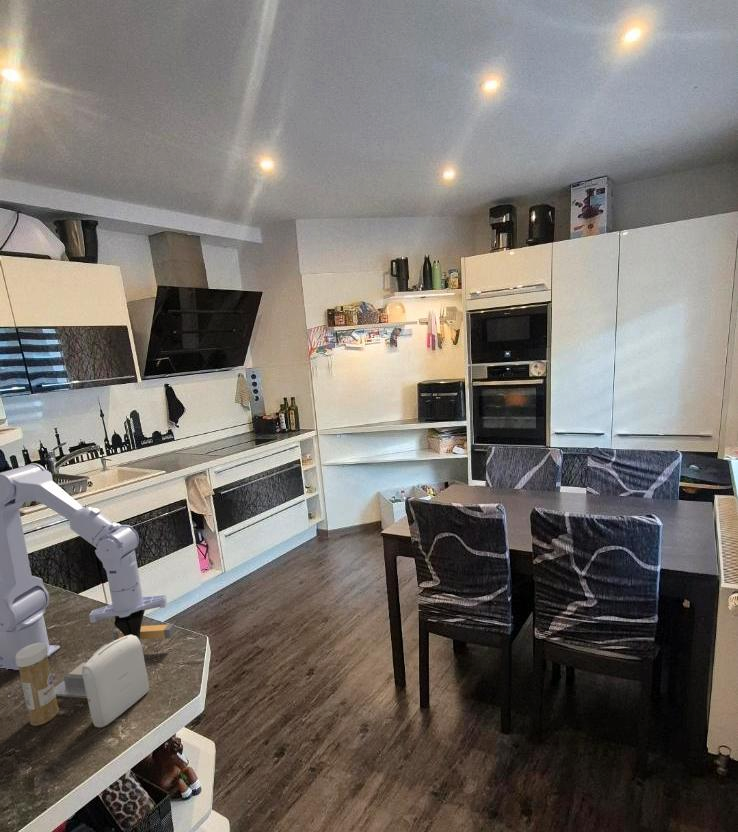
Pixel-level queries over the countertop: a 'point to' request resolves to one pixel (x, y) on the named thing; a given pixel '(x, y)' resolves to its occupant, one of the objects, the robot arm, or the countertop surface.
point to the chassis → (75, 681)
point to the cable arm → (150, 632)
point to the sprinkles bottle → (37, 683)
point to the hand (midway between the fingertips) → (135, 644)
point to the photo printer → (115, 679)
